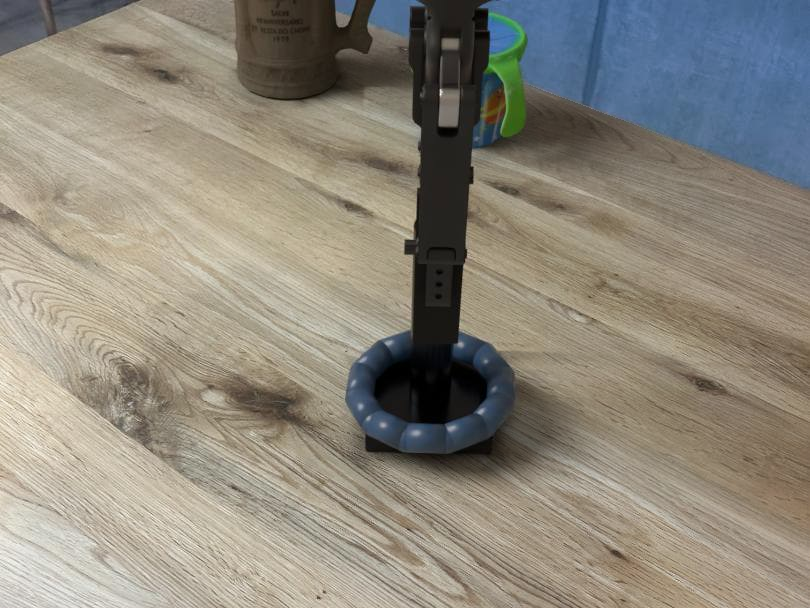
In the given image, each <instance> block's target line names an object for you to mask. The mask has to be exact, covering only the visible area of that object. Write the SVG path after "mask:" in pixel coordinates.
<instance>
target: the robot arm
mask: <svg viewBox="0 0 810 608" xmlns="http://www.w3.org/2000/svg"><path fill="white" fill-rule="evenodd" d="M415 1H417V2H418V3H420V4H422V5H409V28H408V65H409V67H411V68H410V70H411V69H412V70H413V73H412V102H411V103H412V107H411V108H412V109H411V110H412V111H411V117H412V121H413V122H414V123H415V124H416V125H417V126H419V128H420V140H419V141H418V142H417V151H418V153H419V158H420V160H419V161H420V162H419V165H418V167H417V172H416V173H417V174H416V175H417V177H418V179H419V187H416V208H415V210H416V212H415V220H416V240H413V239H407V238H406V239H404V243H403V244H404V246H403V255H404V256H405V255H406V256H413V255H415V279H414V314H413V343H445V344H458V337H459V331H460V322H461V321H460V320H461V307H462V291H463V277H464V266H465V264H466V259H468V248H467V247H466V244H467V228H468V213H469V212H468V211H469V199H470V185H474V182H475V180H474V179H475V174H474V173H475V172H474V167H475V166H474V165H472V157H473V155H472V154H473V148H472V142H473V130H474V126H476V125H477V124H478V122H479V120H480V114H481V97H482V80H483V73H484V71H485V70H486V68H487V67H488V63H489V50H490V30H488V12H489V7H481V6H483V5H485V4H488V3H490V2H492V1H494V0H415ZM495 1H500V0H495Z"/></svg>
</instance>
